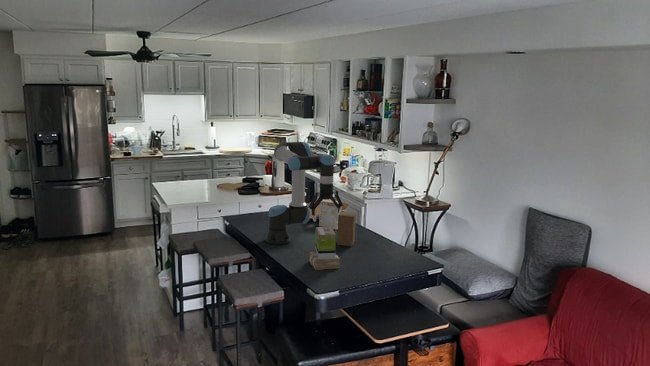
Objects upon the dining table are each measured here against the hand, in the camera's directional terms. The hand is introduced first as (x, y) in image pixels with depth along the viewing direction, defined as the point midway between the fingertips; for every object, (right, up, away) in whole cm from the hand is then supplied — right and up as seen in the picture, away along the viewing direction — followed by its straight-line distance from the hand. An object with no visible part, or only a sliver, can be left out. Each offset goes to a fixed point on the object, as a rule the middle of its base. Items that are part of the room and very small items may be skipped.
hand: (325, 219), depth 283 cm
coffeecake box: (+3, -11, +81) cm, 82 cm away
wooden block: (+13, -19, +44) cm, 50 cm away
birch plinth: (-1, -26, +5) cm, 27 cm away
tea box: (0, -21, +4) cm, 21 cm away
